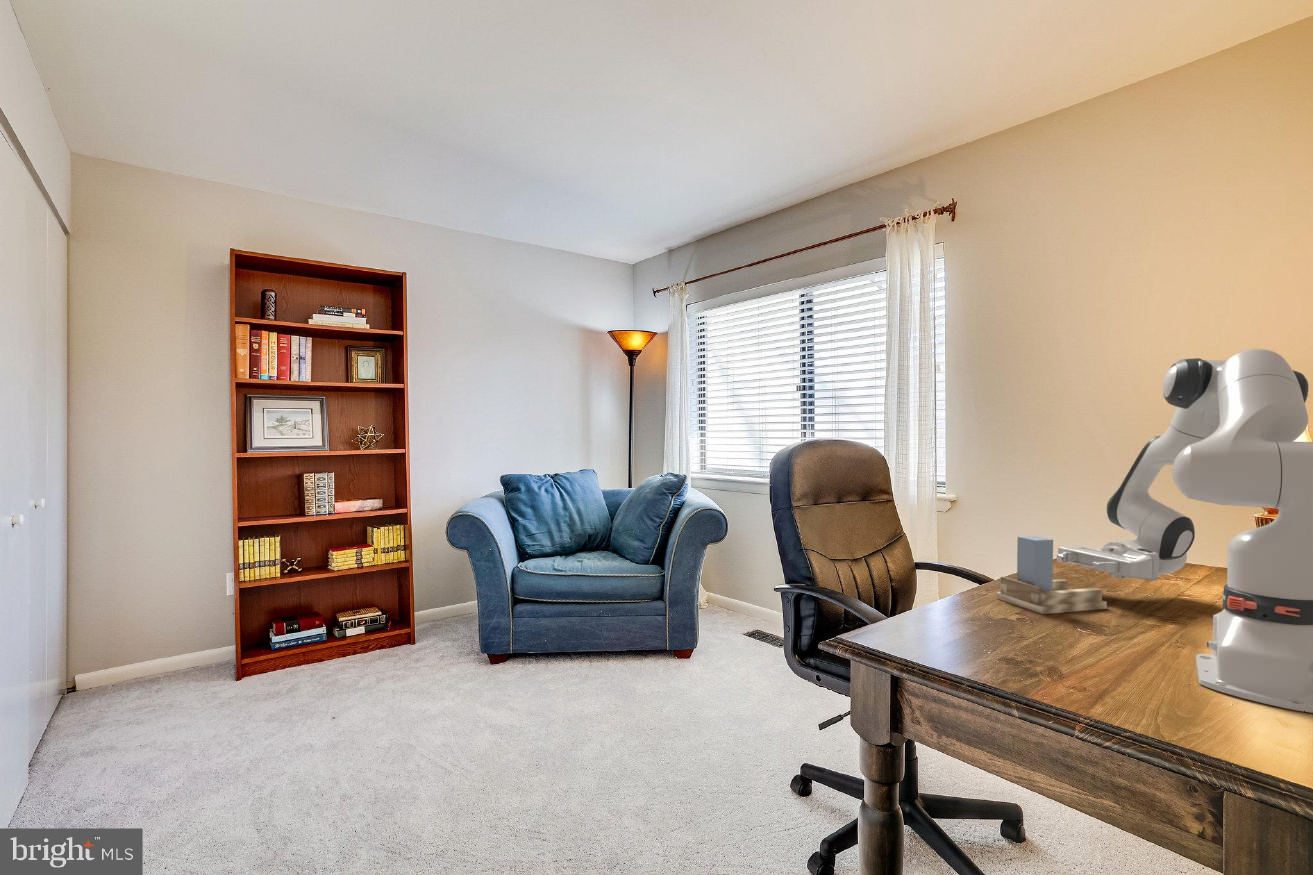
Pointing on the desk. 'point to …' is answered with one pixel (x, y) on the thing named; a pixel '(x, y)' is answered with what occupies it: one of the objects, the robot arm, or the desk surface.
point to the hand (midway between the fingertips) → (1076, 562)
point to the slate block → (1035, 561)
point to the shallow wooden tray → (1050, 597)
